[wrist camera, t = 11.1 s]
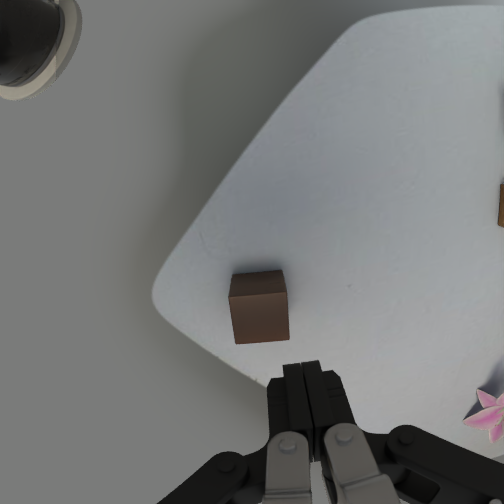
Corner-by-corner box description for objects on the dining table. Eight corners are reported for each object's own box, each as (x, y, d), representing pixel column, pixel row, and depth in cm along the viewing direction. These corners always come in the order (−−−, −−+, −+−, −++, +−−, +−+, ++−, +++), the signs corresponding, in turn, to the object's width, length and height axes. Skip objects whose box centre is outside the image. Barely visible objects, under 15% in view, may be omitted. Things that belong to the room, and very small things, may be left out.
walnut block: (231, 274, 25) (228, 296, 22) (282, 269, 25) (287, 291, 21) (237, 317, 27) (235, 344, 23) (285, 313, 27) (289, 340, 23)
